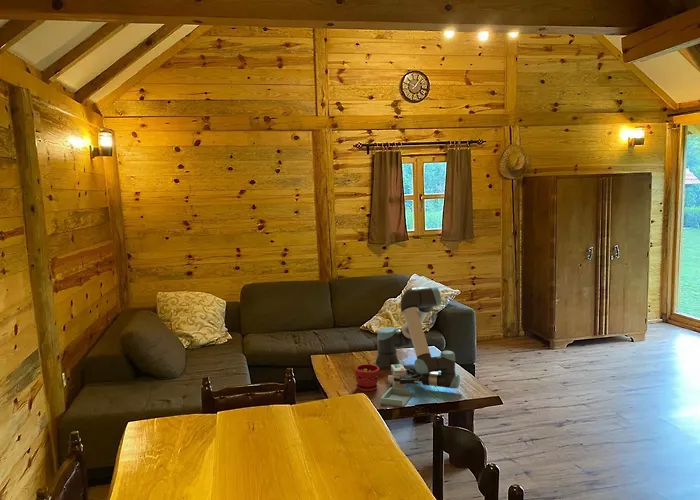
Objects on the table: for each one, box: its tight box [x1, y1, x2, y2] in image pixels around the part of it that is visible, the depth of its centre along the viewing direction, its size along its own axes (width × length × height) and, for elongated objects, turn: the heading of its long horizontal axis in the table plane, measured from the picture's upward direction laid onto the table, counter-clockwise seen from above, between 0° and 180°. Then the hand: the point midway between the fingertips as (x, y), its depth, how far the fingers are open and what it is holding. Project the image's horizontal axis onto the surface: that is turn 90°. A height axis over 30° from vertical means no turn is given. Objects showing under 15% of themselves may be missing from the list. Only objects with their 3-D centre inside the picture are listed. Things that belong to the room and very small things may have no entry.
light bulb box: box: [390, 363, 407, 389], centre depth 285 cm, size 11×7×11 cm, turn 6°
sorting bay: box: [380, 386, 413, 408], centre depth 266 cm, size 12×16×3 cm
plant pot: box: [354, 363, 380, 392], centre depth 282 cm, size 13×13×12 cm
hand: (392, 374), depth 286 cm, fingers closed on light bulb box, 12 cm apart
